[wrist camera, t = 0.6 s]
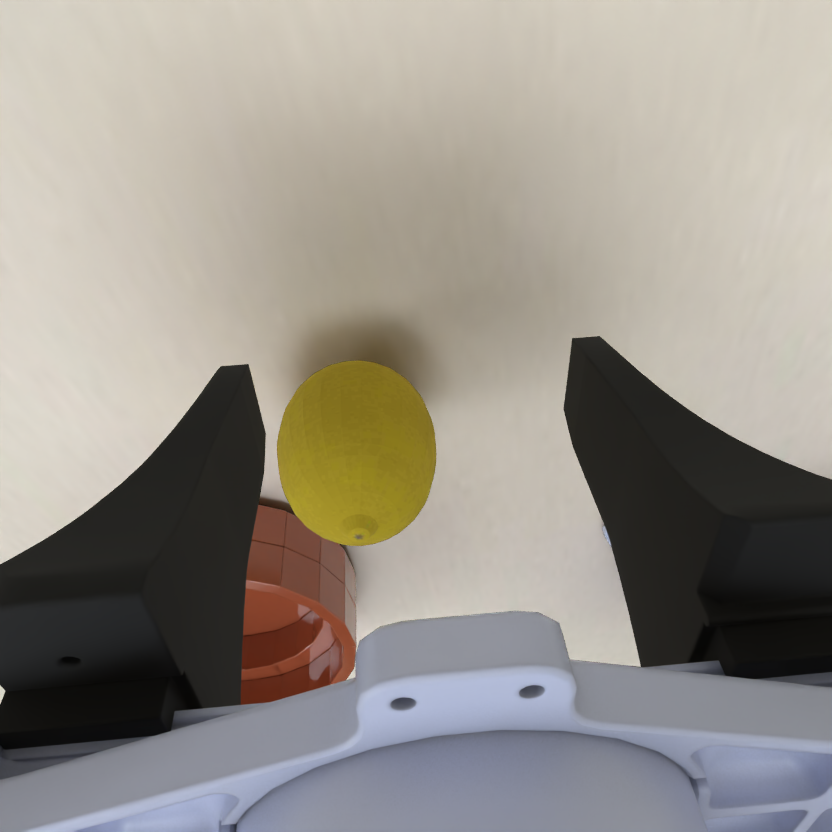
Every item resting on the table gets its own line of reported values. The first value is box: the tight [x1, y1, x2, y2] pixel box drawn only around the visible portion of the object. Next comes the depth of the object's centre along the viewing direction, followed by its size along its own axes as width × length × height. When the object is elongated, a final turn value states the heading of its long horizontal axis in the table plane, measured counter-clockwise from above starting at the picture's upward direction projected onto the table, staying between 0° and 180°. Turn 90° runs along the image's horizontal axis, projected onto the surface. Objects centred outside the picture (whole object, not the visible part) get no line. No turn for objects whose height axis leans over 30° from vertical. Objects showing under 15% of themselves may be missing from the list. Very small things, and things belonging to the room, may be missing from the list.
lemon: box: [277, 360, 436, 546], centre depth 25 cm, size 6×6×8 cm
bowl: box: [241, 505, 356, 705], centre depth 34 cm, size 12×12×5 cm
